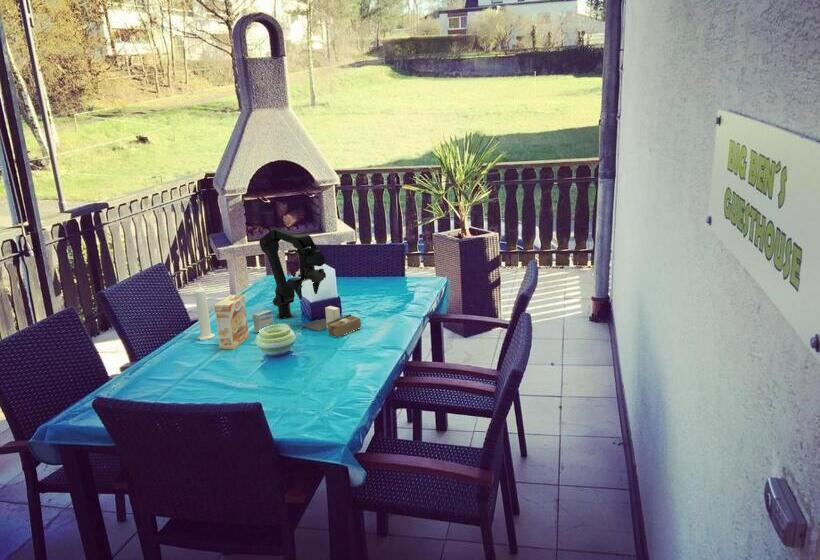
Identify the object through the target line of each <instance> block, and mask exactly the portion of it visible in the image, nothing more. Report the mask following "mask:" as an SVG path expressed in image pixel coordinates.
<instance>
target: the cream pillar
mask: <svg viewBox="0 0 820 560" xmlns="http://www.w3.org/2000/svg"><path fill="white" fill-rule="evenodd" d="M340 311H341V309H340V307H336V306H333V305H329V306H326V307H325V319H326V323H328V322H331V321H334V320H336V319H339V318H341V312H340ZM327 328H328V325H327Z"/></svg>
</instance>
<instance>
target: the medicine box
mask: <svg viewBox="0 0 820 560" xmlns="http://www.w3.org/2000/svg"><path fill="white" fill-rule="evenodd" d="M252 321H253V327H254V328H253V330H254V333H256V334H258V333H257V332H258V331H259V330H260V329H262V328H264V327H267V326H270V325H274V326H275V324H274V316H273V311H272V310H270V309H264V310H261V311H258V312H256V313H252Z"/></svg>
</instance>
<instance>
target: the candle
mask: <svg viewBox="0 0 820 560" xmlns="http://www.w3.org/2000/svg"><path fill="white" fill-rule="evenodd" d="M194 296H195V297H194V298H195V303H196V310H197V317H198V325H199V333H200V335H198V337H197V339H198V340H199V339H200V341H208V340H212V339H214V338H215V333H212V328H211V322H210V321H211V320H210V313H209V308H208V307H209V306H208V305H209V304H208V299H207V292H206V289H205V288H203V287H202V285H201V284H200V282H199V283H197V288H196V289H195V290H194Z"/></svg>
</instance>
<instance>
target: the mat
mask: <svg viewBox="0 0 820 560" xmlns="http://www.w3.org/2000/svg"><path fill="white" fill-rule="evenodd" d="M301 326H302V327H301V328H304V327H305V328H304V329H307V328H309V329H308V330H311V329H312V330H311V331H314V330H316V331H315V332H318V331H320V332H322V331H321V330H323V331H325V330H327V329H326V328H327V323H326V318H322V319H321V320H318V319H315V320H313V321H310V322H307V323H305V324H302V325H301ZM324 329H325V330H324Z"/></svg>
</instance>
